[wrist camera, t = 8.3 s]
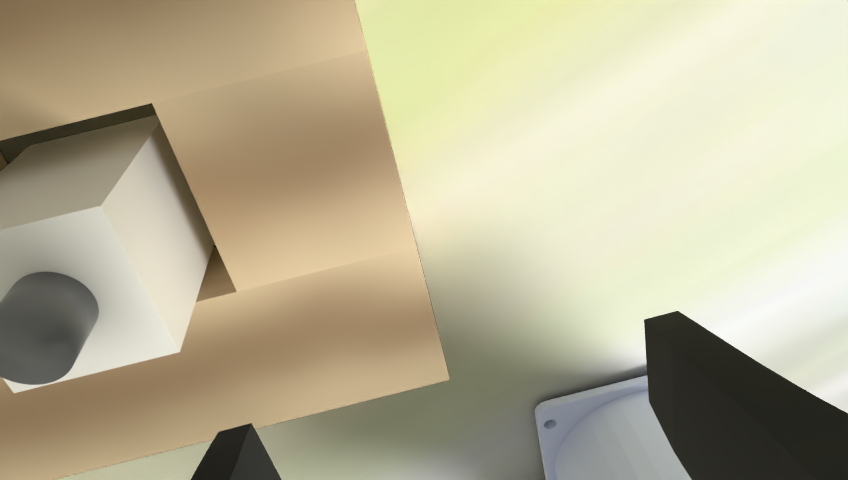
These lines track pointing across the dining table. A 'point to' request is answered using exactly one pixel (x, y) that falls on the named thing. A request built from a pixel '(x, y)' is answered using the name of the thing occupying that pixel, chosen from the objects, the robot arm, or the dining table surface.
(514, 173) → the dining table surface
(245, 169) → the socket plate
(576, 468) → the robot arm
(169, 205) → the plug
